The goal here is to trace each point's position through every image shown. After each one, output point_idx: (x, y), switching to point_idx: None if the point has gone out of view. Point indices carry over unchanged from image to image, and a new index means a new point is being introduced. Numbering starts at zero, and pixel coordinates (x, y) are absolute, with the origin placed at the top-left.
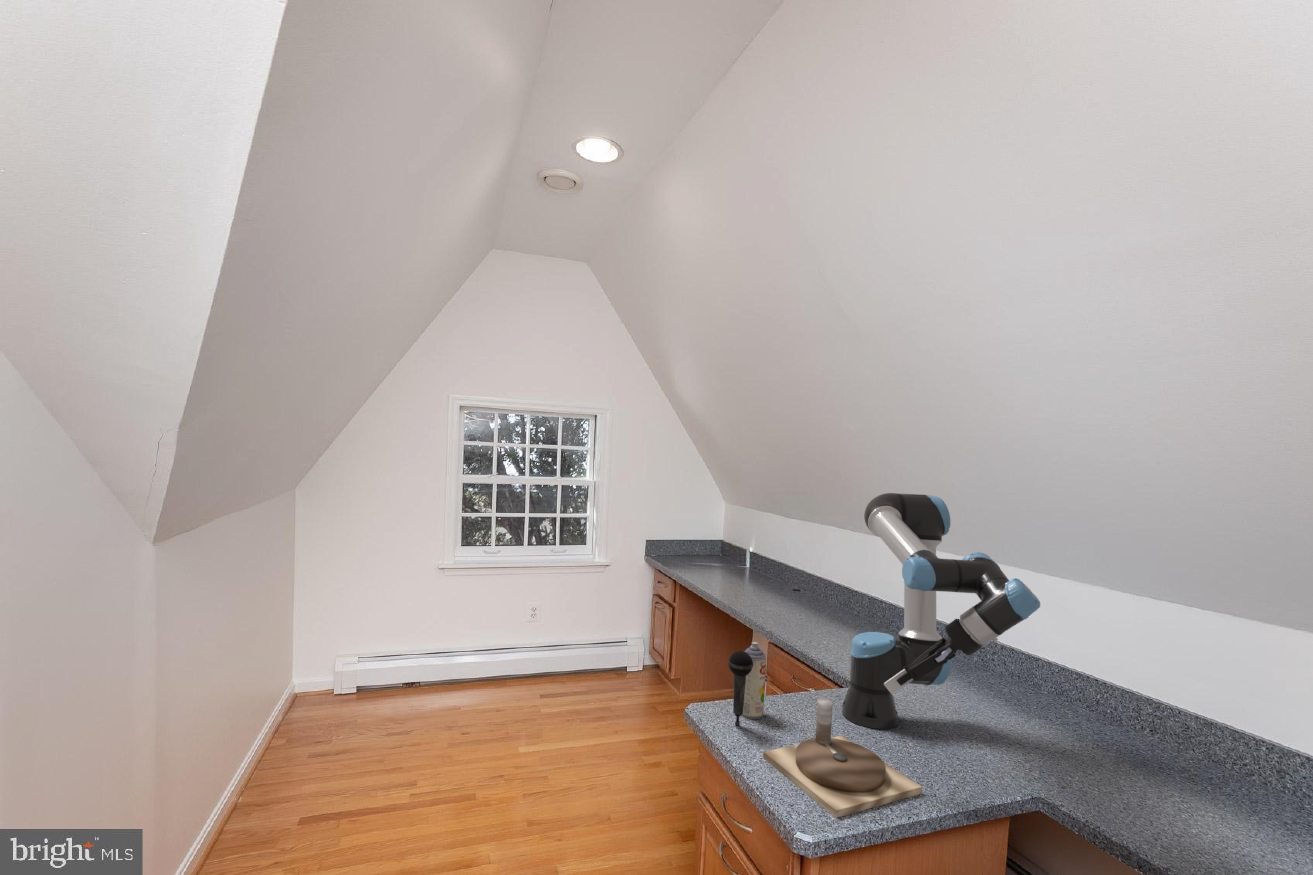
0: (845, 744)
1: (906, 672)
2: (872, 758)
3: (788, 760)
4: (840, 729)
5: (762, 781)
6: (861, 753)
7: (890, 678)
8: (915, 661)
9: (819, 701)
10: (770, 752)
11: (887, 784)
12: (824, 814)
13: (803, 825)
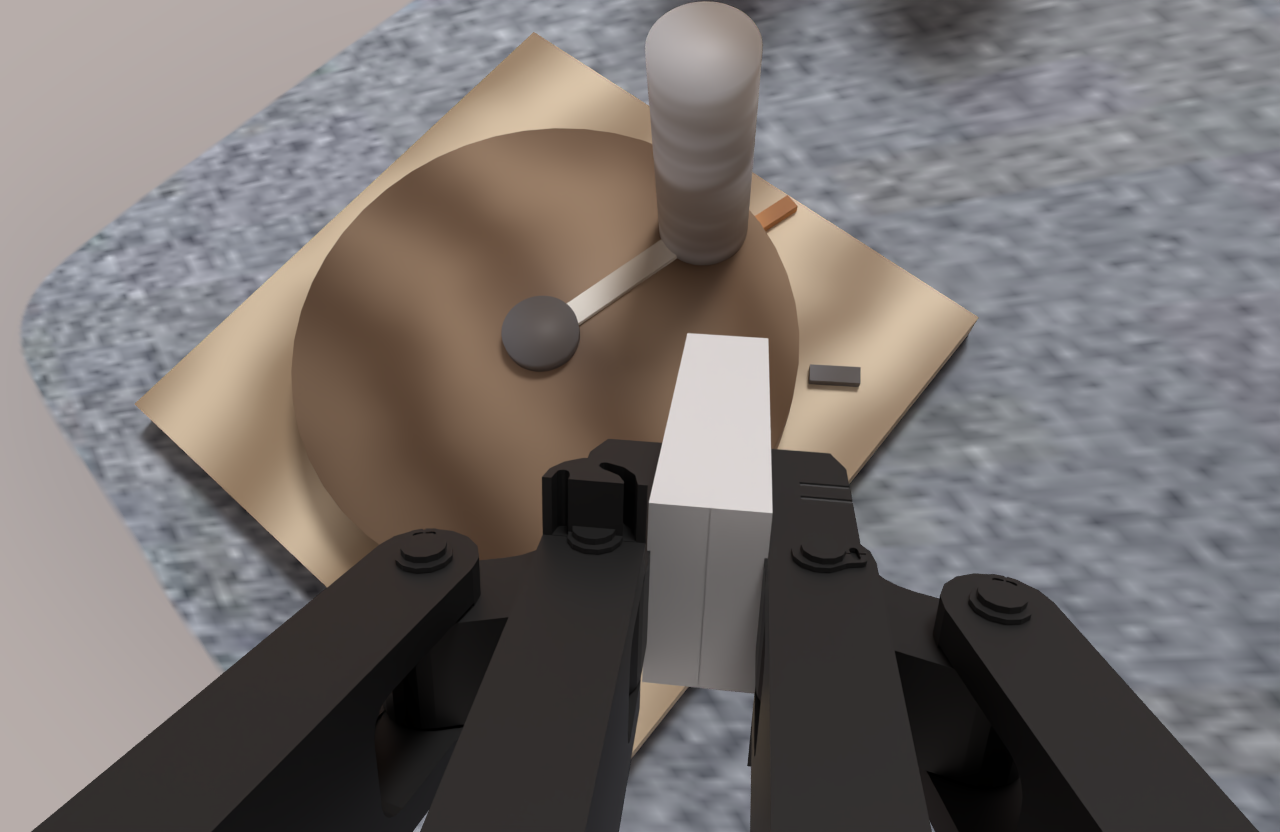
0: None
1: (651, 538)
2: None
3: None
4: (1133, 306)
5: (331, 102)
6: None
7: (762, 372)
8: (823, 663)
9: (663, 19)
10: (543, 58)
11: None
12: (166, 369)
13: (55, 308)
